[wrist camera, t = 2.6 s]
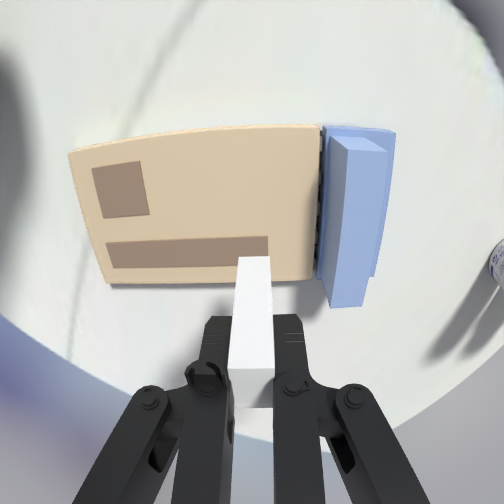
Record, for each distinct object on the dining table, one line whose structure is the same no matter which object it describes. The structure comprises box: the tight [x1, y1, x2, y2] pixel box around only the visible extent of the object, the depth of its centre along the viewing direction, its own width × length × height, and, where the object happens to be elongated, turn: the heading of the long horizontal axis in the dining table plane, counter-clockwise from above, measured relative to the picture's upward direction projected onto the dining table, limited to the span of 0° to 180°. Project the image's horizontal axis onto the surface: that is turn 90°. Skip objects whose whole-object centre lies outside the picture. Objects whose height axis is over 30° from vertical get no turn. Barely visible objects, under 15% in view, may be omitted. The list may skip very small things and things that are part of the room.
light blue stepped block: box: [315, 126, 396, 308], centre depth 19 cm, size 5×12×5 cm, turn 2°
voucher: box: [68, 124, 323, 284], centre depth 21 cm, size 18×12×2 cm, turn 92°
